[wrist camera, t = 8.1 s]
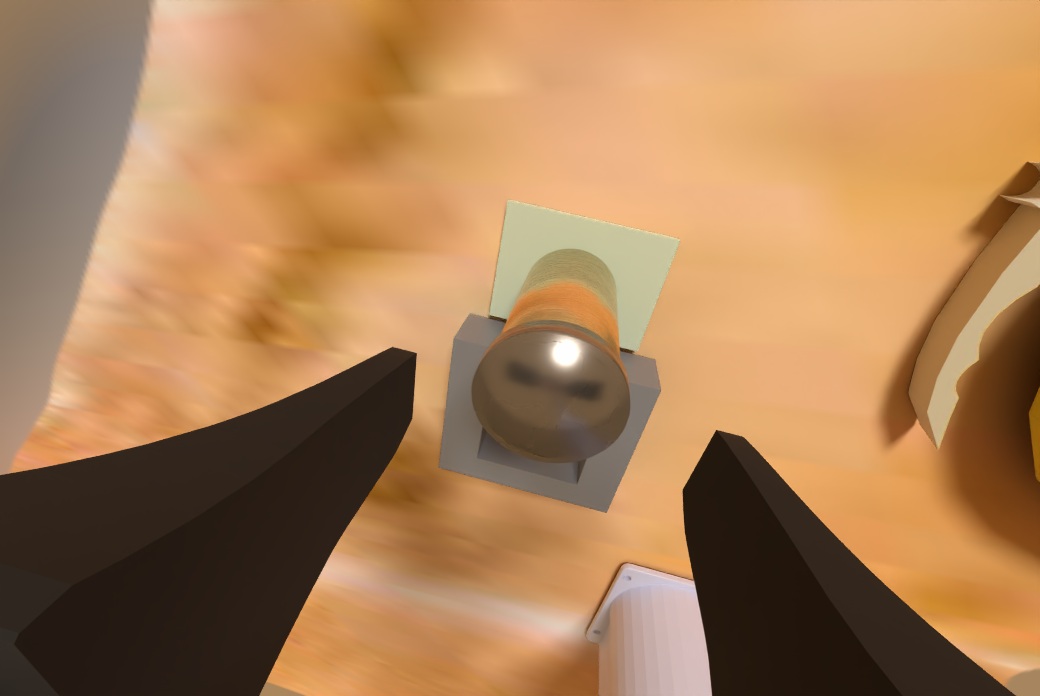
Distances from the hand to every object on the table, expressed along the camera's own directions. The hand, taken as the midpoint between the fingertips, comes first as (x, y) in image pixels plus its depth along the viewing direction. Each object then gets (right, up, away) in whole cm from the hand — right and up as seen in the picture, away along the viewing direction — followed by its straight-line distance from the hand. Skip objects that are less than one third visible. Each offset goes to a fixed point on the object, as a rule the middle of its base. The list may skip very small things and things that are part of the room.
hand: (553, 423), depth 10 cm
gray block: (0, -1, +12) cm, 12 cm away
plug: (+1, +4, +8) cm, 10 cm away
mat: (+2, +5, +8) cm, 10 cm away
